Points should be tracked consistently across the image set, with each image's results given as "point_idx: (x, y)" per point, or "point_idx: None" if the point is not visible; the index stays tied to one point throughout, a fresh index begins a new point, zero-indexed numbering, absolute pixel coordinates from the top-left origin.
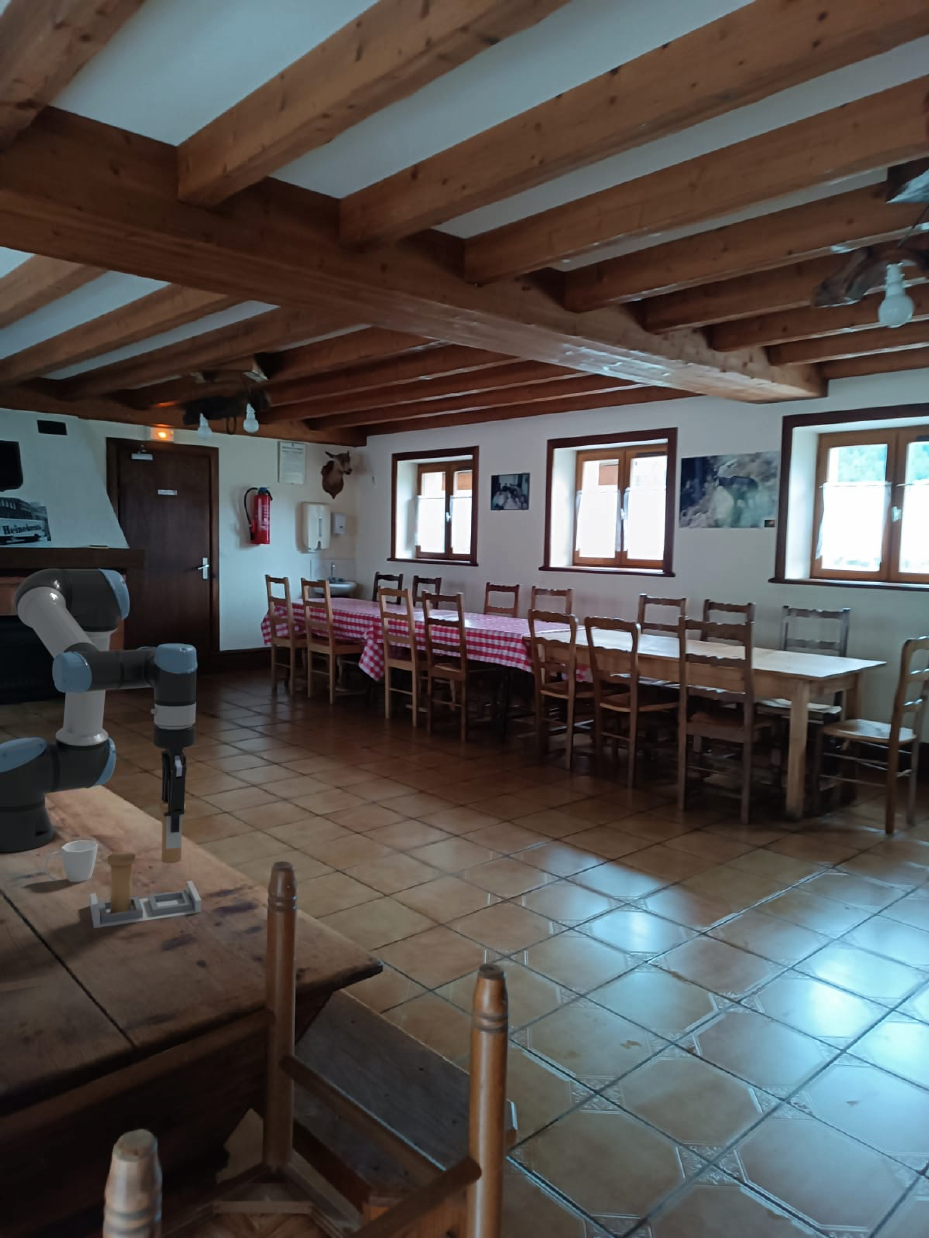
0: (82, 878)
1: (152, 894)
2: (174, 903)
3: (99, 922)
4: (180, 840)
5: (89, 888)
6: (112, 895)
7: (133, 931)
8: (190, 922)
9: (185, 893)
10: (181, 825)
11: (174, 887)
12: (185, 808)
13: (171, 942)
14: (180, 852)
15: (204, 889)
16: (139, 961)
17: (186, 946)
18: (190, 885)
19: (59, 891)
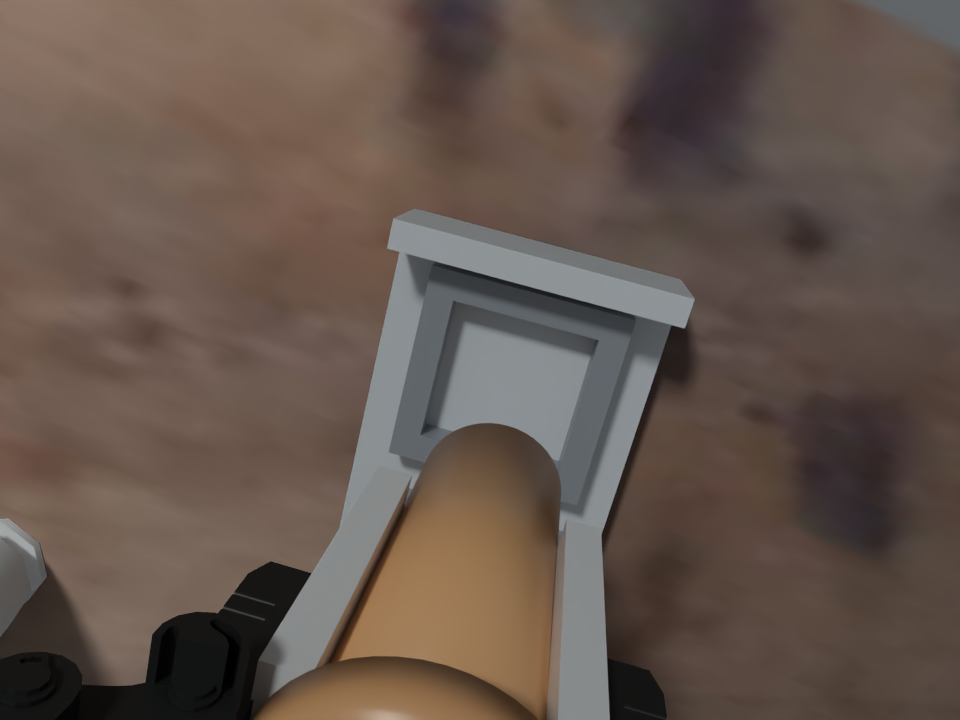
0: (21, 587)
1: (394, 432)
2: (499, 349)
3: None
4: (598, 567)
5: (76, 547)
6: None
7: (616, 576)
8: (694, 342)
9: (478, 288)
10: (604, 659)
11: (243, 226)
12: (485, 688)
13: (832, 499)
14: (540, 473)
15: (349, 98)
16: (901, 665)
17: (919, 466)
18: (461, 259)
19: (57, 647)
